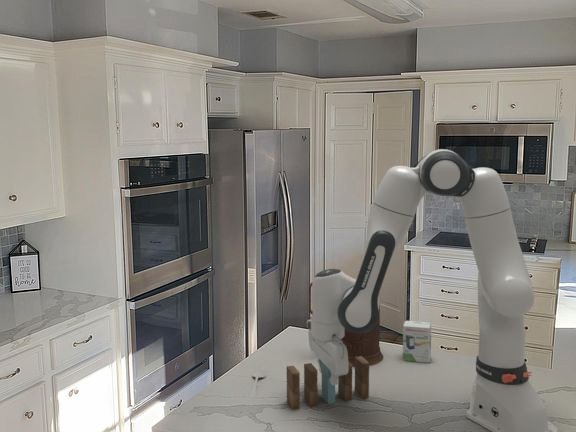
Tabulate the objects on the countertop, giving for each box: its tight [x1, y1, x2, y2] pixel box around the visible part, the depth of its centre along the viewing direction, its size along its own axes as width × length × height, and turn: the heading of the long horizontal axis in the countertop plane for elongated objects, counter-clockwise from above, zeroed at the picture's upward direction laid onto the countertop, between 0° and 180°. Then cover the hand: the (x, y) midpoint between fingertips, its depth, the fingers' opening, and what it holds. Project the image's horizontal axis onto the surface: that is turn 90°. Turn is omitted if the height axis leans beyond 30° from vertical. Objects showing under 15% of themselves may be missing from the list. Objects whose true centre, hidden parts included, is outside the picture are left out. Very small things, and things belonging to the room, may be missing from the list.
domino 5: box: [354, 356, 370, 400], centre depth 160 cm, size 2×5×10 cm, turn 18°
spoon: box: [248, 367, 267, 399], centre depth 167 cm, size 4×21×2 cm, turn 174°
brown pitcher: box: [308, 281, 384, 368], centre depth 187 cm, size 18×24×25 cm
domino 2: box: [303, 362, 319, 408], centre depth 156 cm, size 2×5×10 cm, turn 17°
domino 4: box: [337, 362, 353, 402], centre depth 159 cm, size 2×5×10 cm, turn 17°
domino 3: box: [321, 362, 336, 405], centre depth 157 cm, size 2×5×10 cm, turn 18°
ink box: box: [402, 320, 432, 364], centre depth 184 cm, size 9×5×12 cm, turn 73°
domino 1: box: [286, 365, 301, 410], centre depth 154 cm, size 2×5×10 cm, turn 18°
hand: (328, 378), depth 157 cm, fingers open, 6 cm apart
